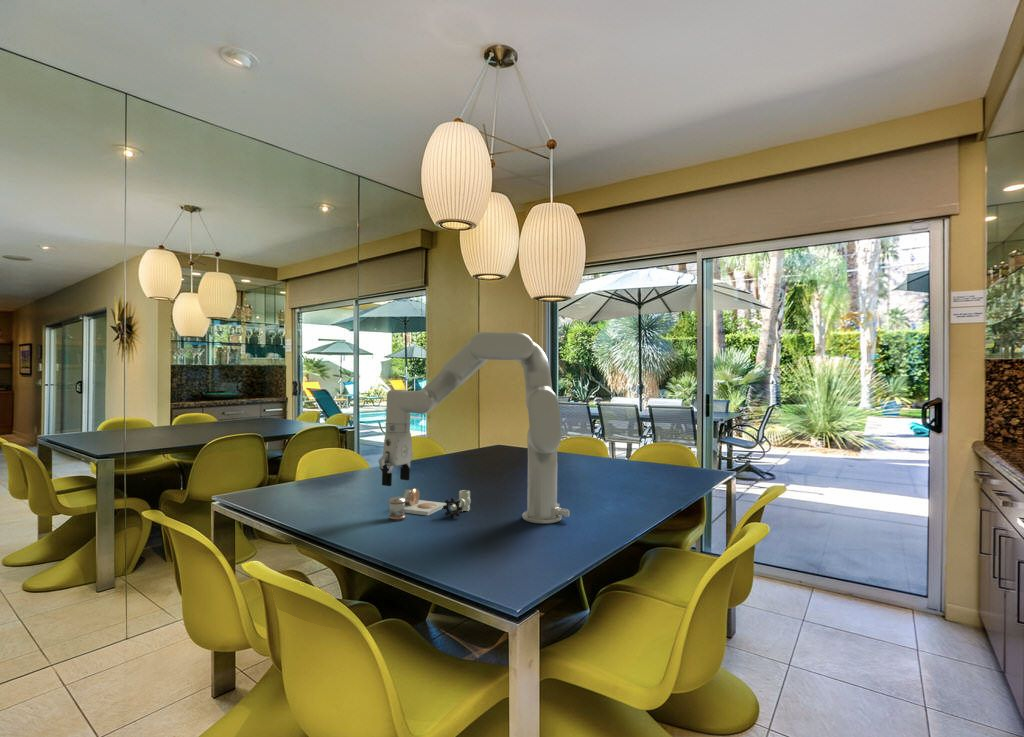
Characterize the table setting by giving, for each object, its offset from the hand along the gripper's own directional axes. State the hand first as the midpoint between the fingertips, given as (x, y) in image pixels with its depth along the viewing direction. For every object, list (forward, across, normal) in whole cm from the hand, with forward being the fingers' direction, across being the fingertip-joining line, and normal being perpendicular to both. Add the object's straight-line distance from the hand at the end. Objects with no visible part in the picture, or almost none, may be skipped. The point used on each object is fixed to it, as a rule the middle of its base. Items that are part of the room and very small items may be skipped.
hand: (395, 482), depth 159 cm
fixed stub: (+11, +13, +3) cm, 18 cm away
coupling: (+12, 0, -1) cm, 12 cm away
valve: (+11, +14, -16) cm, 24 cm away
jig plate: (+11, +13, -2) cm, 18 cm away
